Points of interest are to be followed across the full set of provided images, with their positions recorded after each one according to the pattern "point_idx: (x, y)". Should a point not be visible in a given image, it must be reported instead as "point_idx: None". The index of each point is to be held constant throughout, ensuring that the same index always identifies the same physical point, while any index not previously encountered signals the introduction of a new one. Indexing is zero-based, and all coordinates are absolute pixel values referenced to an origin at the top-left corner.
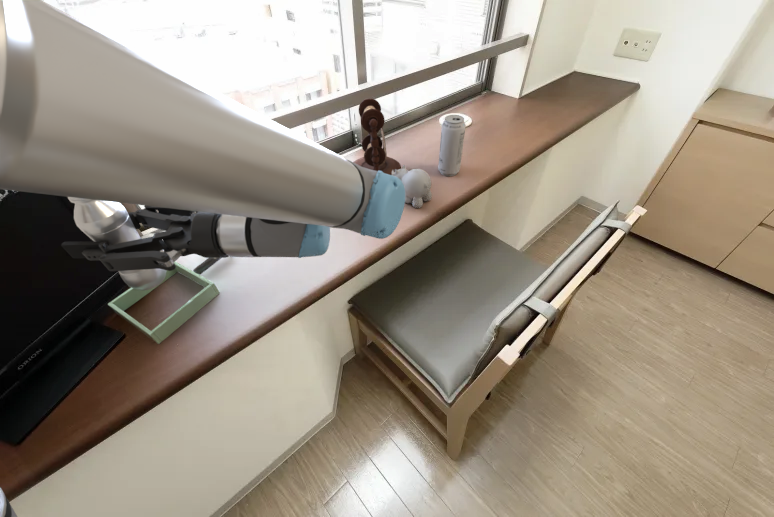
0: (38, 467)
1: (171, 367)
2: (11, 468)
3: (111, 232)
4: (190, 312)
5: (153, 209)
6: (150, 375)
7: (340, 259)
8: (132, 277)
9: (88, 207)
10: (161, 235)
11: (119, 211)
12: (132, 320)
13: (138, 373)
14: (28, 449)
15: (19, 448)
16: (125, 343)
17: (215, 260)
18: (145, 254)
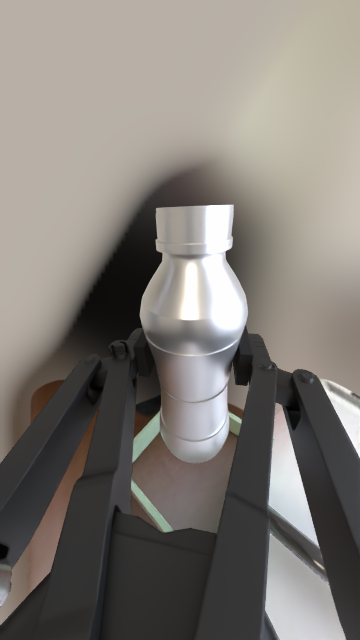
0: (31, 402)
1: (59, 519)
2: (47, 384)
3: (150, 344)
4: (157, 526)
5: (297, 399)
6: (65, 482)
7: None
8: (160, 411)
9: (160, 268)
10: (73, 533)
11: (191, 327)
12: (149, 424)
13: (80, 460)
14: (56, 388)
15: (62, 382)
16: (137, 423)
17: (307, 564)
18: (3, 479)
